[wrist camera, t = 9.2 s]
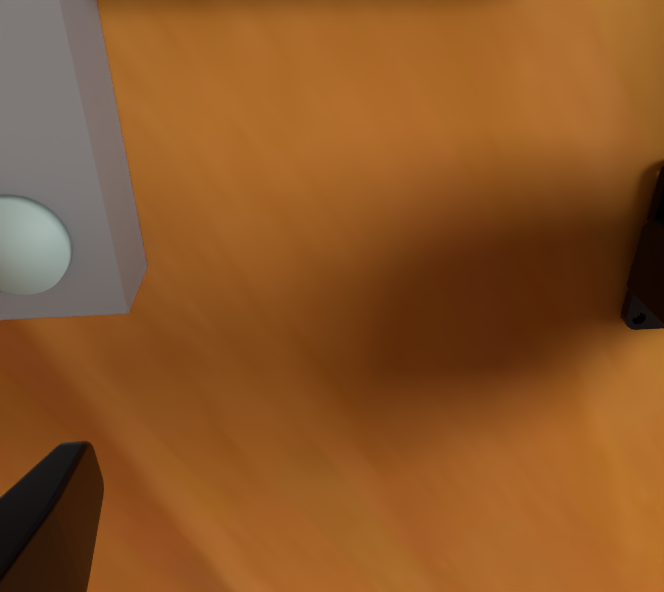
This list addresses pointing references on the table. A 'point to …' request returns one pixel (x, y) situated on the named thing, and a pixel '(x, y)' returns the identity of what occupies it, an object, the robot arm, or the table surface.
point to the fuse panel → (62, 168)
